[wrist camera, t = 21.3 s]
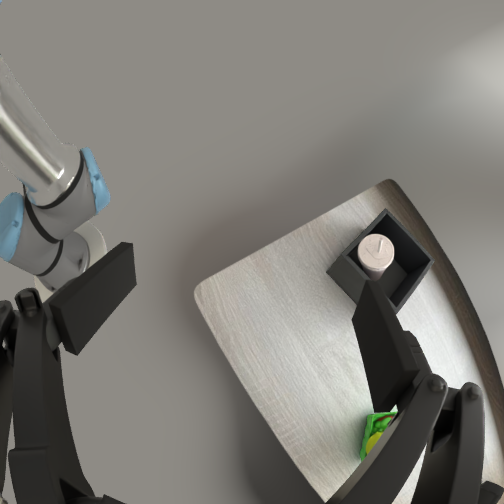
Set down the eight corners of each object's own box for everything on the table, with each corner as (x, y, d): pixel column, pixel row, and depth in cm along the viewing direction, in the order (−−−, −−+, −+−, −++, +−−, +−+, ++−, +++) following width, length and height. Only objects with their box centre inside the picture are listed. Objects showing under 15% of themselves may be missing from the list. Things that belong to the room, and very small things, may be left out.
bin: (326, 272, 51) (340, 254, 42) (367, 230, 55) (385, 207, 45) (373, 322, 48) (396, 314, 39) (410, 275, 51) (435, 260, 42)
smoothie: (381, 293, 47) (389, 263, 36) (352, 280, 51) (350, 247, 39) (393, 264, 49) (403, 227, 37) (364, 252, 52) (366, 214, 40)
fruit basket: (386, 457, 37) (413, 474, 27) (346, 461, 38) (367, 483, 27) (396, 406, 41) (427, 415, 31) (356, 409, 42) (382, 421, 31)
